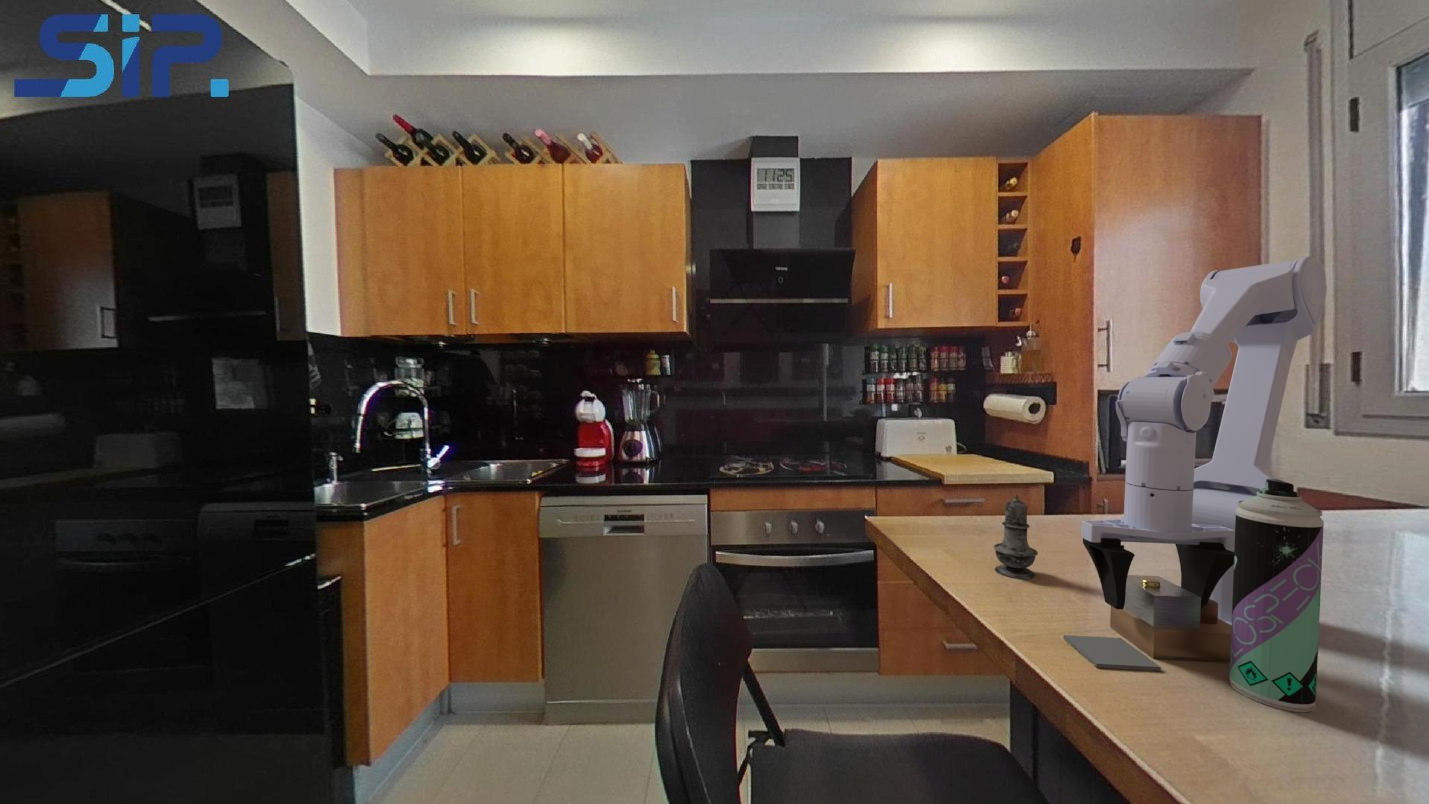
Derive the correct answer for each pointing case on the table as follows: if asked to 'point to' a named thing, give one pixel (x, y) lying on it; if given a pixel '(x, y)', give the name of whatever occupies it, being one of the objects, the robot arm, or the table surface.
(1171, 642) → the body
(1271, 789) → the table surface
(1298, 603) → the spray can
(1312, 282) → the robot arm
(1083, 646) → the mat
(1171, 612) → the grey knob block
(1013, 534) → the salt shaker
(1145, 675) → the table surface
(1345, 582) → the table surface
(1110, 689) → the table surface
